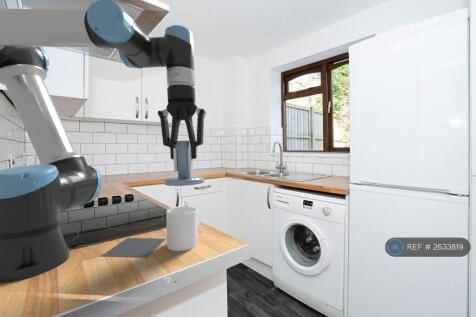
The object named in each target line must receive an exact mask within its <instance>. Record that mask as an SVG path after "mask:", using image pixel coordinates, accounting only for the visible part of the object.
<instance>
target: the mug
mask: <svg viewBox="0 0 476 317" xmlns="http://www.w3.org/2000/svg"><path fill="white" fill-rule="evenodd" d="M165 218H166V246H167V249H168V250H170V251H173V252H182V251H184V252H185V251H188V250H189V251H190V250H191V249H194V248H195V247H196V246H197V245H198V231H199V230H200V226H201V217H200V214H199V212H198V209H197V208H196V207H193V206H177V207H172V208H169V209H167V210H166V216H165Z"/></svg>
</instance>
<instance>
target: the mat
mask: <svg viewBox="0 0 476 317" xmlns="http://www.w3.org/2000/svg"><path fill="white" fill-rule="evenodd" d="M165 240H166V238H157V237H156V238H154V237H153V238H150V237H126V238H125V239H123V240H121V241H120V242H119V243H118V244H116V245H115V246H113V247H112V248H110V249H109V250H107V251H106V252H105V253H103V254H102V255H101V257H103V258H104V257H105V258H107V257H110V258H140V259H141V258H142V259H143V258H144V259H145V258H146V259H148V258H149V257H150V255H151V254H152V253H153V252H155V250H156V249H157V248H159V246H160V245H162V243H163V242H164V241H165Z"/></svg>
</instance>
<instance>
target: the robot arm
mask: <svg viewBox="0 0 476 317" xmlns="http://www.w3.org/2000/svg"><path fill="white" fill-rule="evenodd" d="M193 38H194V36H193V33H192V32H191V29H189V28H187V27H186V26H183V25H179V24H174V25H170V26H168V27H166V29H165V30H164V36H158V37H156V36H153V37H149V36H148V35H147V34H146V33H145V32H144V31H143V30H142V28H140V26H139V25H138V24H137V23H136V21H135V20H134V19H133V18H132V16H131V15H130V14H129V12H127V11H126V10H125V8H122V6H121V5H120V4H118V3H117V2H116V1H114V0H96V1H93V2H92V3H90V5H89V7H88V8H85V9H84V8H83V9H81V8H79V9H74V8H73V9H71V8H69V9H68V8H66V9H65V8H10V7H9V8H4V7H0V84H1V85H4V86H5V88H6V90H7V92H8V94H9V96H10V100H11V101H12V103H13V106H14V109H15V110H16V112H17V114H18V116H19V119H20V121H21V123H22V125H23V127H24V130H25V131H26V134H27V136H28V138H29V141H30V142H31V146H32V147H33V150H34V152H35V154H36V156H37V159H38V160H39V164H30V165H25V166H16V167H15V166H14V167H10V168H5V169H1V170H0V284H6V283H12V282H18V281H22V280H26V279H30V278H34V277H36V276H39V275H42V274H45V273H48V272H50V271H52V270H55V269H56V268H58V267H60V266H61V265H63V264H64V263H65V262H66V261H68V259H69V258H70V248H69V245H67V243H66V241H65V240H66V239H65V238H64V235H63V233H62V230H61V228H60V227H61V226H60V213H63V212H65V211H68V210H72V209H74V208H77V207H82V206H84V205H86V204H88V203H90V202H92V201H94V200H95V199H96V198H97V197H98V196H99V194H100V193H101V190H102V188H103V176H102V174H101V173H100V171H99V170H98V168H96V167H93V166H91V165H88V163H87V160H86V157H84V155H82V154H80V153H78V152H76V151H75V148H74V145H73V144H72V141H71V138H70V137H69V135H68V132H67V130H66V129H65V126H64V124H63V121H62V120H61V117H60V115H59V113H58V110H57V108H56V106H55V103H54V102H53V99H52V96H51V95H50V93H49V90H48V88H47V86H46V83H45V80H46V79H47V77H48V74H47V73H48V72H49V67H48V66H50V58H49V56H48V54H47V52H46V50H45V49H44V48H47V47H48V48H100V49H101V48H103V49H107V48H108V49H116V50H117V51H118V55H119V58H120V60H121V61H122V62H123V65H125V67H127V68H129V69H130V68H131V69H145V68H163V67H165V68H166V85H167V88H166V91H167V93H166V94H167V105H166V108H165V109H163V110H158V111H157V115H158V117H159V119H160V127H161V137H162V138H161V139H162V145H163V146H164V147H168V148H169V151H170V160H173V170H174V172H176V173H178V159H177V141H179V140H178V139H179V132H180V130H179V129H180V125H181V122H183V121H184V123H185V126H186V131H187V136H188V141H189V147H190V148H188V171H190V172H193V171H195V167H194V166H195V164H194V163H195V160H196V159H197V158H198V157H197V156H198V154H197V149H198V147H200V146H202V145H203V144H204V129H205V127H204V124H205V121H204V119H205V117H206V114H207V111H206V110H205V109H204V108H200V107H198V106H197V104H196V89H195V86H196V83H195V82H196V81H195V80H196V79H195V77H196V76H195V58H194V57H195V53H194V51H195V47H194V39H193ZM195 113H196V116H197V119H196V120H197V121H196V122H197V123H196V133H195V129H194V125H193V124H194V123H193V116H194V115H195ZM169 115H170V116H171V117H172V118H171V131H170V126H169V119H168V117H169Z"/></svg>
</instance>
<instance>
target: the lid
mask: <svg viewBox="0 0 476 317" xmlns="http://www.w3.org/2000/svg"><path fill="white" fill-rule="evenodd" d="M188 148H191V147H190V142H189V140H177V159H178V171H177V176H175V177H174V176H173V177H169V178H168V177H167V178H164V179H163V185H165V186H171V187H184V186H185V187H186V186H194V185H200V184H203V183H205V177H203V176H200V175H198V176H196V175H195V176H193V175H191V171H188Z"/></svg>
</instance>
